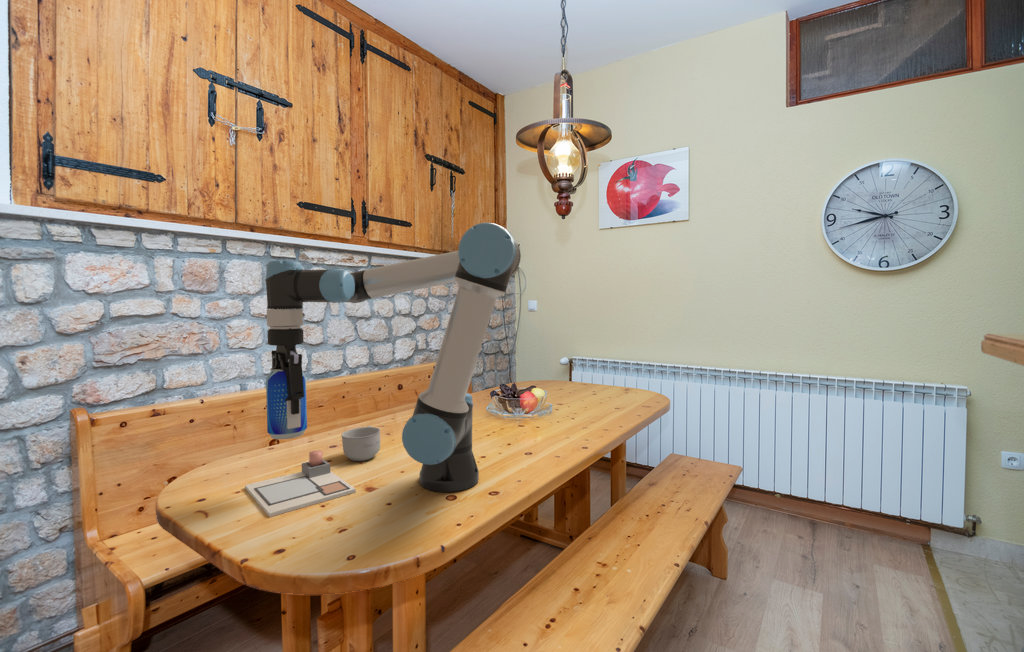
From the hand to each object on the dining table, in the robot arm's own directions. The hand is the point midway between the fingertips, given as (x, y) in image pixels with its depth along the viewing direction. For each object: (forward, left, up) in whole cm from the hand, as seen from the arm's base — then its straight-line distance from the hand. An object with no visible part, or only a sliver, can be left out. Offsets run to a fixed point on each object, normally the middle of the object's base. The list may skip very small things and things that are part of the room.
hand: (287, 423), depth 107 cm
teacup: (+13, -25, -17) cm, 33 cm away
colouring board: (0, -3, -17) cm, 17 cm away
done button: (+7, -9, -14) cm, 18 cm away
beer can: (0, 0, -3) cm, 3 cm away
